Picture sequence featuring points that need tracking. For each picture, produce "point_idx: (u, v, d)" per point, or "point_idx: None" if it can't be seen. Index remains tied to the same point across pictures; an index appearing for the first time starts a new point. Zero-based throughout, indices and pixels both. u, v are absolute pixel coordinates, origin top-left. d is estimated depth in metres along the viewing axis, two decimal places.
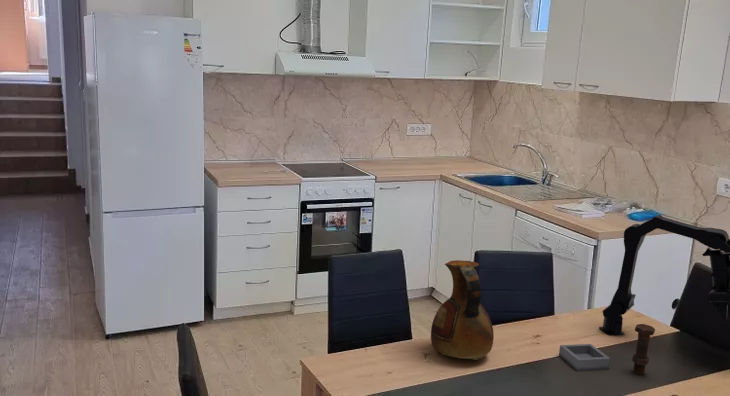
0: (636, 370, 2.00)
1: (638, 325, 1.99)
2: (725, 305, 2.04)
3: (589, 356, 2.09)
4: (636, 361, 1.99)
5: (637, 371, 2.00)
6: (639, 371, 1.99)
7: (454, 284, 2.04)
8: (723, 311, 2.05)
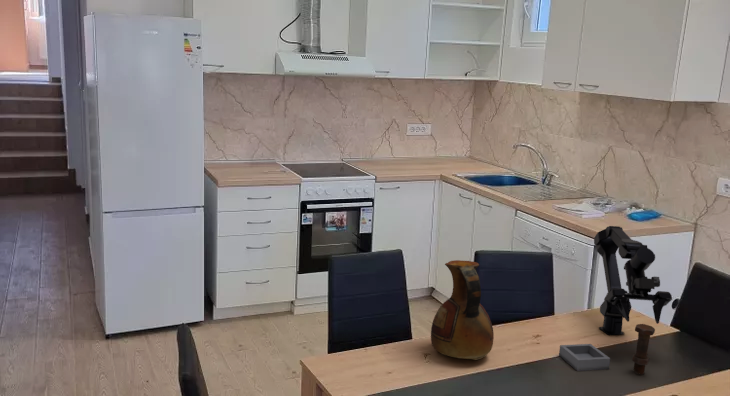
0: (636, 370, 2.00)
1: (638, 325, 1.99)
2: None
3: (589, 356, 2.09)
4: (636, 361, 1.99)
5: (637, 371, 2.00)
6: (639, 371, 1.99)
7: (454, 284, 2.04)
8: (623, 310, 2.08)
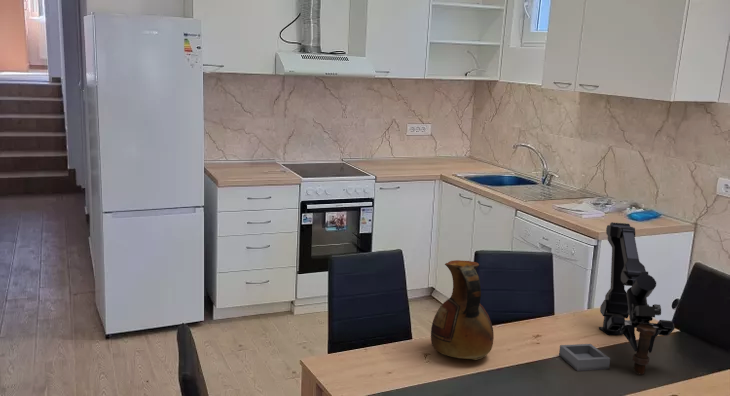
0: (636, 370, 2.00)
1: (639, 325, 1.99)
2: None
3: (589, 356, 2.09)
4: (636, 361, 1.99)
5: (637, 371, 2.00)
6: (639, 371, 1.99)
7: (454, 284, 2.04)
8: (631, 340, 2.00)
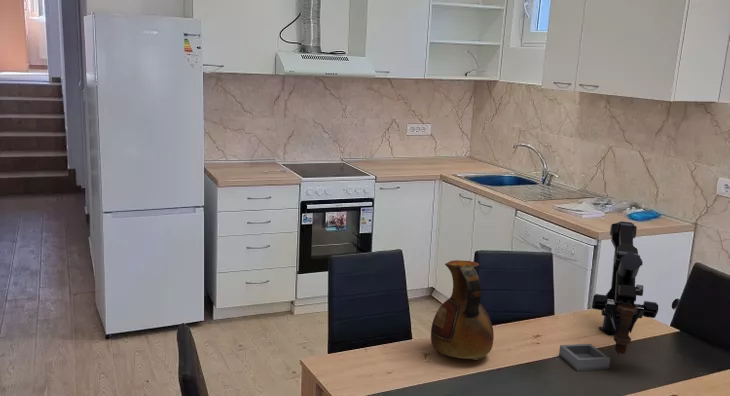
0: (617, 349, 2.00)
1: (621, 305, 1.99)
2: None
3: (589, 356, 2.09)
4: (616, 340, 1.99)
5: (618, 350, 2.00)
6: (620, 350, 2.00)
7: (454, 284, 2.04)
8: (612, 319, 2.01)
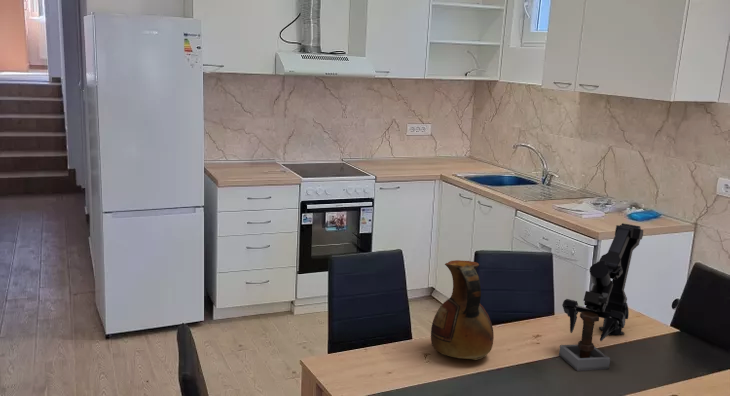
0: (580, 355, 2.06)
1: (584, 312, 2.05)
2: None
3: None
4: (579, 346, 2.05)
5: (581, 356, 2.06)
6: (582, 357, 2.05)
7: (454, 284, 2.04)
8: None
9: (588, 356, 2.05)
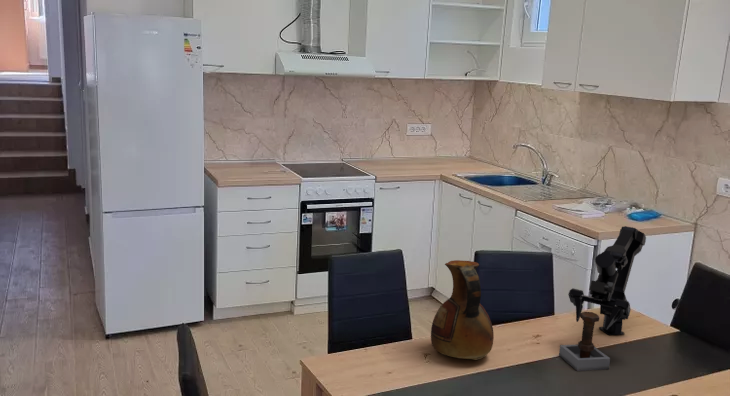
0: (580, 355, 2.06)
1: (584, 312, 2.05)
2: None
3: None
4: (579, 346, 2.05)
5: (581, 357, 2.06)
6: (582, 357, 2.05)
7: (454, 284, 2.04)
8: None
9: (588, 356, 2.05)
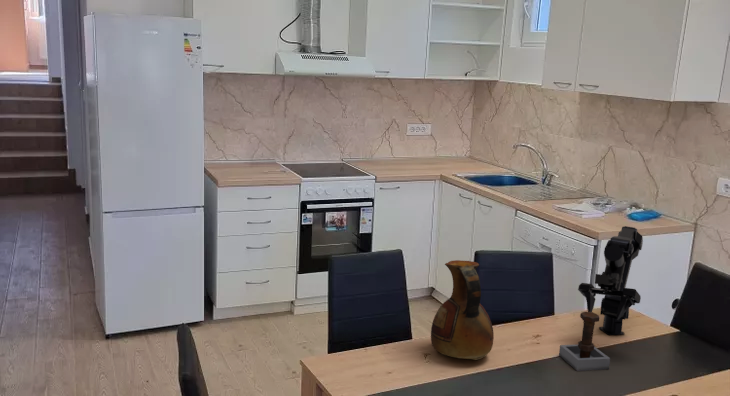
0: (580, 355, 2.06)
1: (585, 312, 2.05)
2: None
3: None
4: (579, 346, 2.05)
5: (581, 357, 2.06)
6: (582, 357, 2.05)
7: (454, 284, 2.04)
8: None
9: (588, 356, 2.05)
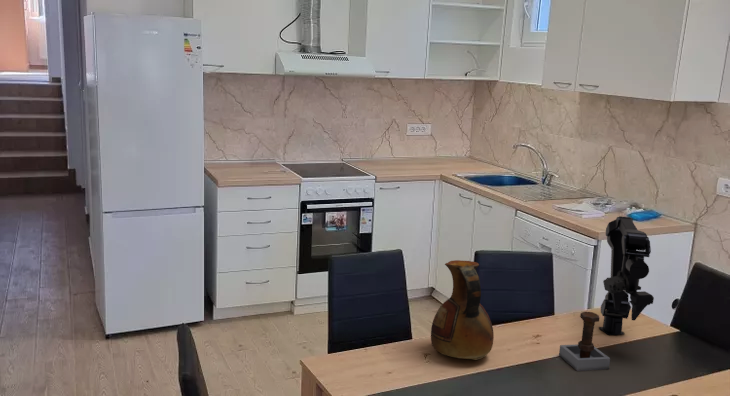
0: (580, 355, 2.06)
1: (585, 312, 2.05)
2: None
3: None
4: (579, 346, 2.05)
5: (581, 357, 2.06)
6: (582, 357, 2.05)
7: (454, 284, 2.04)
8: None
9: (588, 356, 2.05)
